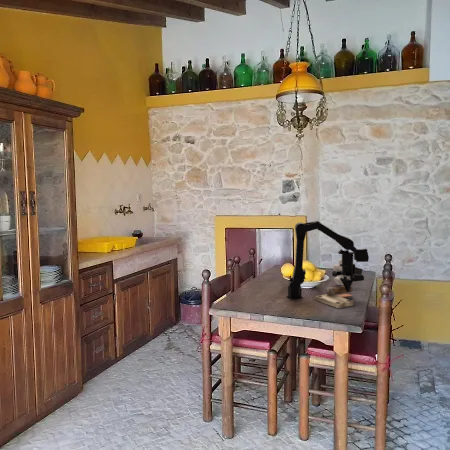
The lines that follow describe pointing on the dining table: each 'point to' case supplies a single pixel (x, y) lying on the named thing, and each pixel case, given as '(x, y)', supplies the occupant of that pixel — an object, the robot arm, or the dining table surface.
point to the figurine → (337, 279)
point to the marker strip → (345, 295)
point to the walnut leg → (336, 290)
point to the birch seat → (334, 300)
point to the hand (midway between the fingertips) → (347, 291)
